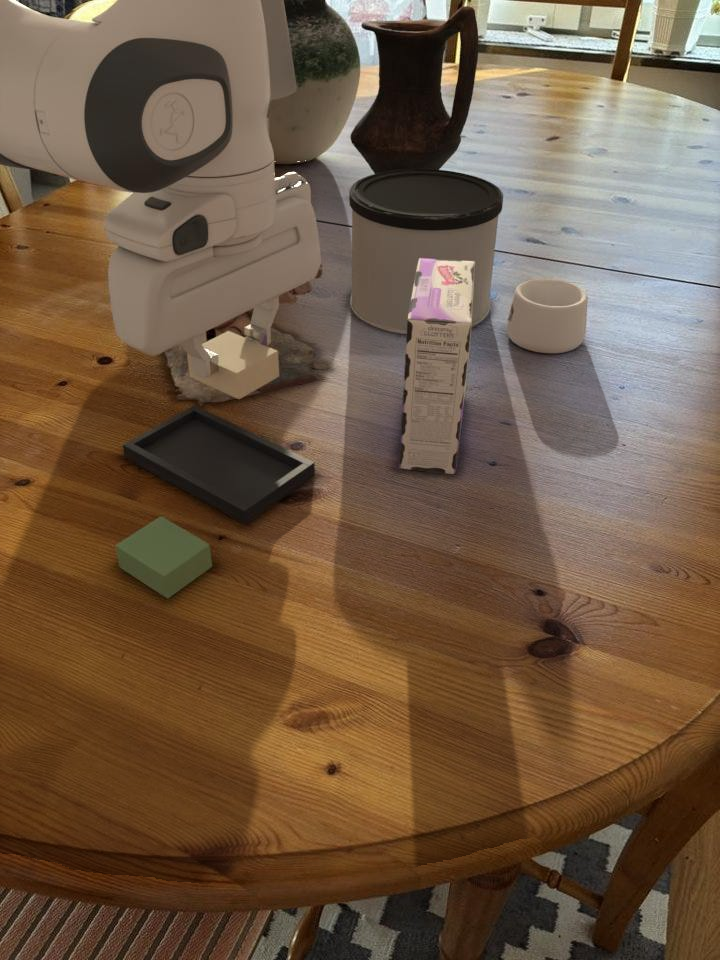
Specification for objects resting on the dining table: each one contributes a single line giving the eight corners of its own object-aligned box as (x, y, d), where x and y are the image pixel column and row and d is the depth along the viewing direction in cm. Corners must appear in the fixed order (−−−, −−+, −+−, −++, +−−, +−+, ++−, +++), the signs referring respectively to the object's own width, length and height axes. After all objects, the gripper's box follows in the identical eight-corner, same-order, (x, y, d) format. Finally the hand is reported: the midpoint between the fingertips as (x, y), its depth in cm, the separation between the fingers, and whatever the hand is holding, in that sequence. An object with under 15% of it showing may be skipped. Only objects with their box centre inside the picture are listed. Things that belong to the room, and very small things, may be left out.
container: (385, 266, 125) (388, 160, 116) (509, 291, 118) (523, 181, 109) (323, 317, 111) (322, 201, 102) (461, 349, 104) (472, 228, 95)
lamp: (219, 179, 156) (201, -39, 135) (316, 191, 151) (312, -33, 130) (166, 212, 141) (137, -26, 121) (272, 228, 136) (259, -18, 116)
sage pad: (167, 599, 69) (164, 576, 68) (119, 567, 72) (114, 545, 71) (212, 566, 73) (210, 544, 71) (164, 537, 75) (161, 515, 74)
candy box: (410, 397, 95) (418, 255, 85) (463, 402, 94) (477, 259, 85) (397, 470, 84) (404, 316, 74) (457, 475, 83) (473, 321, 74)
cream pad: (239, 399, 72) (236, 373, 70) (189, 377, 75) (186, 351, 73) (279, 376, 75) (278, 350, 73) (230, 355, 78) (228, 330, 76)
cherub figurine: (145, 339, 105) (123, 193, 95) (284, 314, 111) (278, 174, 101) (183, 410, 92) (163, 250, 82) (337, 377, 98) (337, 224, 88)
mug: (585, 359, 103) (594, 313, 99) (504, 352, 104) (510, 306, 100) (581, 315, 112) (589, 272, 109) (506, 309, 113) (512, 266, 110)
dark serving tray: (245, 525, 77) (244, 511, 76) (124, 457, 85) (122, 444, 84) (315, 475, 83) (314, 462, 82) (195, 417, 91) (194, 404, 90)
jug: (327, 199, 147) (326, 1, 130) (387, 173, 160) (393, -12, 142) (433, 226, 138) (447, 15, 120) (487, 195, 150) (508, 1, 132)
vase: (365, 139, 177) (368, -29, 160) (351, 183, 155) (352, -8, 137) (230, 134, 179) (218, -32, 162) (196, 176, 157) (177, -12, 139)
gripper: (279, 159, 74) (286, 308, 82) (83, 225, 61) (115, 394, 69) (336, 173, 70) (338, 327, 79) (142, 247, 58) (168, 421, 66)
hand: (232, 359), depth 74 cm, fingers closed on cream pad, 5 cm apart
